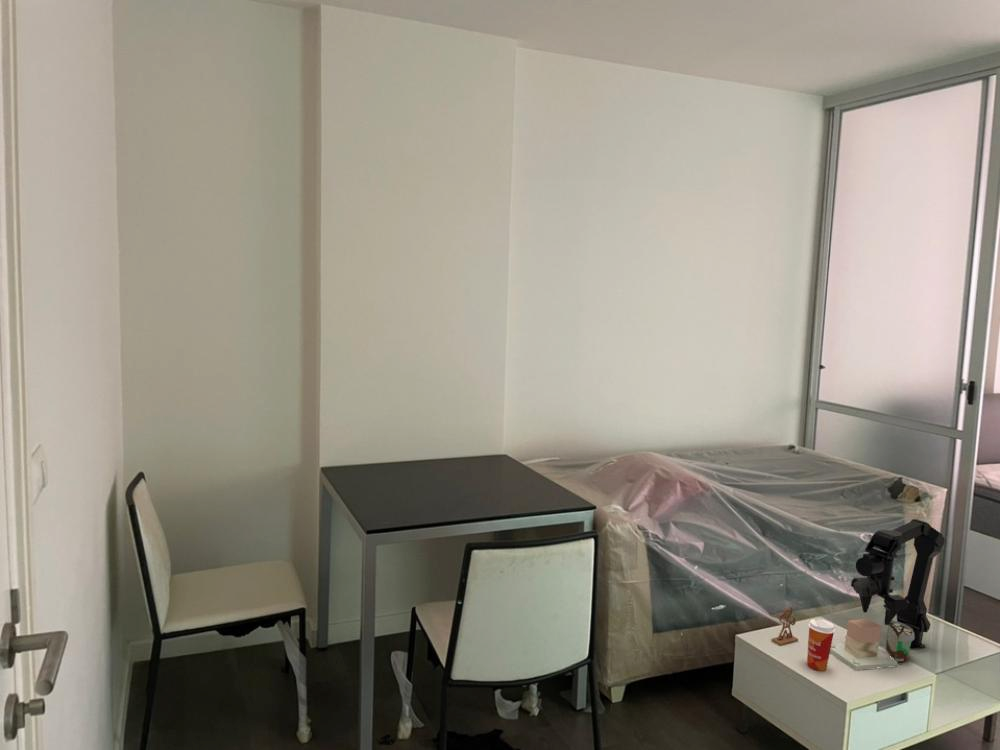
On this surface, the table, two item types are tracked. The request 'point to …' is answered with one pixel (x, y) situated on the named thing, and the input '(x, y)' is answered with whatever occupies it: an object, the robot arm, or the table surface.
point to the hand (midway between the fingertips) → (875, 618)
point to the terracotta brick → (864, 631)
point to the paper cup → (819, 644)
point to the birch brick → (861, 648)
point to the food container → (899, 641)
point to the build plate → (861, 659)
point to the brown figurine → (788, 637)
